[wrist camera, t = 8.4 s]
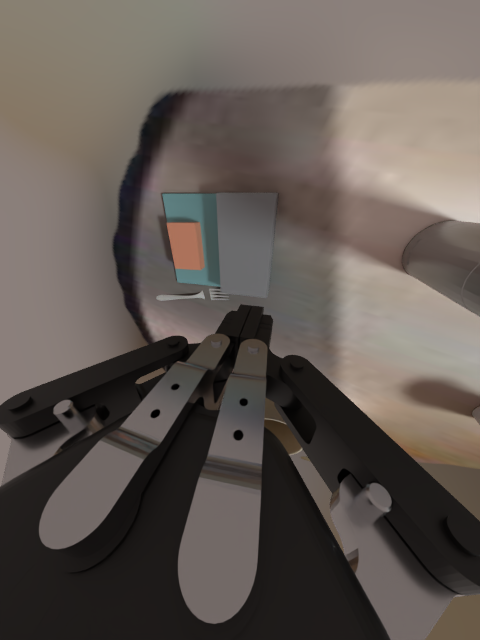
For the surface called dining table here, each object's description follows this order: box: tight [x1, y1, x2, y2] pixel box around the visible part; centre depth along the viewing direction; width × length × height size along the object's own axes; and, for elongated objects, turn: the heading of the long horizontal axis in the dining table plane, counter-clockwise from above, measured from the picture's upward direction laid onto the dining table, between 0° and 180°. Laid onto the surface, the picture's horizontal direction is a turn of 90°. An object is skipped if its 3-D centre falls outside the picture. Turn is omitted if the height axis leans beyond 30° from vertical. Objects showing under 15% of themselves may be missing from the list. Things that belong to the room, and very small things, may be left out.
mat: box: [162, 194, 220, 286], centre depth 40 cm, size 12×18×1 cm, turn 179°
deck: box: [216, 193, 278, 298], centre depth 36 cm, size 10×18×4 cm, turn 179°
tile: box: [167, 222, 205, 270], centre depth 39 cm, size 6×9×2 cm, turn 0°
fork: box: [156, 288, 229, 301], centre depth 48 cm, size 3×24×2 cm, turn 100°
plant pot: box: [264, 398, 302, 455], centre depth 50 cm, size 15×15×16 cm
